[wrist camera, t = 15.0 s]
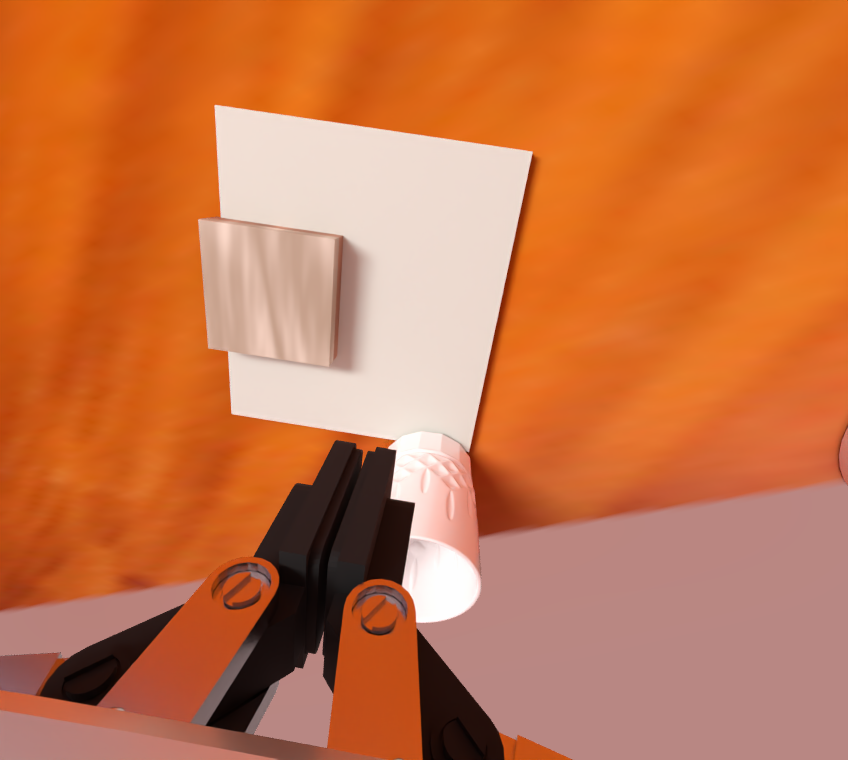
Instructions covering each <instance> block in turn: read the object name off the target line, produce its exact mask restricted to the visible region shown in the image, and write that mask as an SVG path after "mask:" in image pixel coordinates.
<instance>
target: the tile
mask: <svg viewBox="0 0 848 760" xmlns="http://www.w3.org/2000/svg"><path fill="white" fill-rule="evenodd" d="M198 222H199V235H200V247H201V260H202V273H203V285H204V298H205V311H206V324H207V336H208V348H210V349H216V350H223V351H229V352H236V353H242V354H249V355H255V356H262V357H268V358H275V359H281V360H288V361H294V362H301V363H308V364H314V365H321V366H327V367H329V366H330V365H331V364H332V362H333V361H334V359H335V358H336V357H337V349H338V329H339V310H340V291H341V272H342V253H343V235H336V234H329V233H322V232H315V231H309V230H302V229H295V228H288V227H282V226H275V225H268V224H261V223H254V222H248V221H241V220H234V219H227V218H221V217H211V218H204V219H198Z"/></svg>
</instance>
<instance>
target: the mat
mask: <svg viewBox="0 0 848 760" xmlns="http://www.w3.org/2000/svg"><path fill="white" fill-rule="evenodd" d="M215 119H216V137H217V155H218V174H219V192H220V210H221V218H227V219H234V220H241V221H248V222H254V223H261V224H268V225H275V226H282V227H288V228H295V229H302V230H309V231H315V232H322V233H329V234H336V235H343V253H342V272H341V291H340V310H339V329H338V349H337V357H336V358H335V359H334V361H333V362H332V364H331V365H330V366H329V367H327V366H321V365H314V364H308V363H301V362H294V361H288V360H281V359H275V358H268V357H262V356H255V355H249V354H242V353H236V352H229V351H228V357H229V375H230V393H231V412H232V414H235V415H241V416H247V417H253V418H260V419H266V420H272V421H278V422H285V423H291V424H297V425H303V426H310V427H316V428H322V429H328V430H335V431H341V432H347V433H353V434H360V435H366V436H372V437H378V438H385V439H391V440H398V439H399V438H400V437H402V436H403V435H408V434H412V433H416V432H420V431H425V432H432V433H440V434H443V435H445V436H447V437H449V438H451V439H453V440H454V441H456V442H458V443H459V444H460V445H461V446H462V448H463V449H464V450H465V451H466V452H469V450H470V446H471V441H472V436H473V431H474V427H475V422H476V417H477V412H478V408H479V403H480V398H481V394H482V389H483V384H484V379H485V375H486V370H487V365H488V361H489V356H490V351H491V346H492V342H493V337H494V332H495V328H496V323H497V318H498V313H499V309H500V304H501V299H502V295H503V290H504V285H505V280H506V276H507V271H508V266H509V262H510V257H511V252H512V247H513V243H514V238H515V233H516V229H517V224H518V219H519V214H520V210H521V205H522V200H523V196H524V191H525V186H526V181H527V177H528V172H529V167H530V163H531V158H532V153H533V152H532V151H525V150H518V149H511V148H504V147H498V146H491V145H484V144H477V143H470V142H464V141H457V140H450V139H443V138H436V137H429V136H423V135H416V134H409V133H402V132H395V131H389V130H382V129H375V128H368V127H361V126H355V125H348V124H341V123H334V122H327V121H321V120H314V119H307V118H300V117H293V116H287V115H280V114H273V113H266V112H259V111H253V110H246V109H239V108H232V107H225V106H219V105H215Z"/></svg>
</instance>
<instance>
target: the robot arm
mask: <svg viewBox="0 0 848 760" xmlns="http://www.w3.org/2000/svg"><path fill="white" fill-rule="evenodd" d="M362 456H363V450H360V449H356V443H350V442H344V441H338V440H336V441H335V442H334V444H333V446H332V448H331V450H330V452H329V454H328V456H327V458H326V460H325V462H324V464H323V466H322V468H321V470H320V471H319V473H318V475H317V477H316V479H315V481H314V483H313V485H306V484H300V483H297V484H295V486H294V487H293V488H292V490H291V492H290V494H289V495H288V497H287V499H286V501H285V502H284V504H283V506H282V508H281V509H280V511H279V513H278V515H277V516H276V518H275V520H274V522H273V523H272V525H271V527H270V529H269V530H268V532H267V534H266V536H265V537H264V539H263V541H262V543H261V544H260V546H259V548H258V550H257V551H256V553H255V555H254V557H241V558H237V559H234V560H231V561H228V562H227V563H225V564H223V565H221V566H219V567H218V568H217V569H216V570H215V571H214V572H213V573H211V574H210V575H209V577H208V578H207V579H206V580H205V581H204V582H203V584H202V585H201V586H200V587H199V588H198V590H196V592H195V593H194V594H193V595H192V596H191V598H190V599H189V600H188V601H187V602H186V603H185V604H183V605H181V606H179V607H176V608H174V609H171V610H169V611H167V612H165V613H163V614H160V615H158V616H156V617H154V618H151V619H149V620H147V621H145V622H142V623H140V624H138V625H136V626H134V627H131V628H129V629H127V630H125V631H122V632H120V633H118V634H116V635H113V636H111V637H109V638H107V639H104V640H102V641H100V642H98V643H96V644H93V645H91V646H89V647H87V648H85V649H83V650H81V651H80V652H78V653H76V654H74V655H73V656H71V657H70V658H62V655H61V652H58V653H40V654H24V655H5V656H0V760H572V759H570V758H568V757H566V756H563V755H561V754H559V753H557V752H555V751H552V750H550V749H548V748H546V747H543V746H541V745H539V744H537V743H535V742H532V741H530V740H528V739H526V738H524V737H521V736H519V735H517V738H516V740H514V739H512V738H510V737H508V736H506V735H503V734H501V733H499V732H498V731H497V729H496V727H495V726H494V724H493V722H492V721H491V719H490V718H489V717H488V716H487V714H486V713H485V712H484V711H483V709H482V708H481V707H480V706H479V705H478V703H477V702H476V701H475V700H474V698H473V697H472V696H471V695H470V693H469V692H468V691H467V690H466V688H465V687H464V686H463V685H462V684H461V682H460V681H459V680H458V679H457V677H456V676H455V675H454V674H453V672H452V671H451V670H450V669H449V667H448V666H447V665H446V664H445V663H444V661H443V660H442V659H441V657H440V656H439V655H438V654H437V653H436V651H435V650H434V649H433V648H432V646H431V645H430V644H429V643H428V641H427V640H426V639H425V638H424V636H423V635H422V634H421V633H420V632H419V630H418V629H417V628H416V610H415V605H414V601H413V599H412V597H411V596H410V594H409V592H408V591H407V590H406V589H404V588H403V587H402V583H403V577H404V571H405V564H406V558H407V552H408V546H409V540H410V533H411V527H412V521H413V515H414V508H415V503H414V502H408V501H402V500H396V499H390V498H391V491H392V483H393V475H394V468H395V460H396V450H392V449H386V448H380V447H377V448H376V450H375V452H372V451H368V452H367V455H366V458H365V460H364V463H363V466H362ZM839 463H840V470H841V473H842V476H843V478H844V481H845V482H846V483H847V485H848V428H847V430H846V432H845V434H844V437H843V439H842V442H841V447H840V452H839ZM361 467H362V469H361ZM323 632H324V637H323V655H324V671H323V677H324V678H325V680H326V682H327V684H328V686H329V687H330V689H331V691H332V693H333V703H332V712H331V720H330V729H329V737H328V745H327V748H323V747H317V746H312V745H307V744H301V743H296V742H290V741H285V740H279V739H274V738H269V737H263V736H258V735H254V733H255V731H256V729H257V727H258V725H259V723H260V721H261V719H262V718H263V716H264V714H265V712H266V710H267V708H268V706H269V704H270V702H271V701H272V699H273V697H274V695H275V693H276V690H277V687H278V685H279V680H280V679H281V678H283V677H285V676H286V675H288V674H290V673H291V672H293V671H294V669H295V667H298V668H303V667H304V664H305V661H306V658H307V655H308V653H313V654H316V652H317V650H318V647H319V644H320V641H321V638H322V635H323Z"/></svg>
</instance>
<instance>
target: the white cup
mask: <svg viewBox="0 0 848 760" xmlns="http://www.w3.org/2000/svg"><path fill="white" fill-rule="evenodd" d="M388 449H392V450H396V460H395V468H394V475H393V483H392V491H391V498H390V499H396V500H402V501H408V502H414V503H415V508H414V515H413V521H412V527H411V533H410V540H409V546H408V552H407V558H406V564H405V571H404V577H403V583H402V587H403V588H404V589H406V590H407V591H408V592H409V594H410V596H411V597H412V599H413V601H414V605H415V610H416V622H417V623H429V622H439V621H443V620H448V619H451V618H454V617H456V616H459V615H461V614H462V613H464V612H466V611H467V610H468V609H470V608H471V607H472V606H473V605H474V603H475V602H476V601H477V600H478V597H479V595H480V593H481V587H482V582H481V568H480V554H479V537H478V521H477V514H476V502H475V490H474V488H473V484H472V471H471V462H470V457H469V455H468V454H467V453H466V451H465V450H464V449H463V448H462V446H461V445H460V444H459V443H458V442H456V441H454V440H453V439H451V438H449V437H447V436H445V435H443V434H440V433H432V432H425V431H420V432H416V433H412V434H408V435H403V436H402V437H400V438H399V439H398V440H397V441H395V442H394V443H393V444H392V445H390V446H389V447H388Z"/></svg>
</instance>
